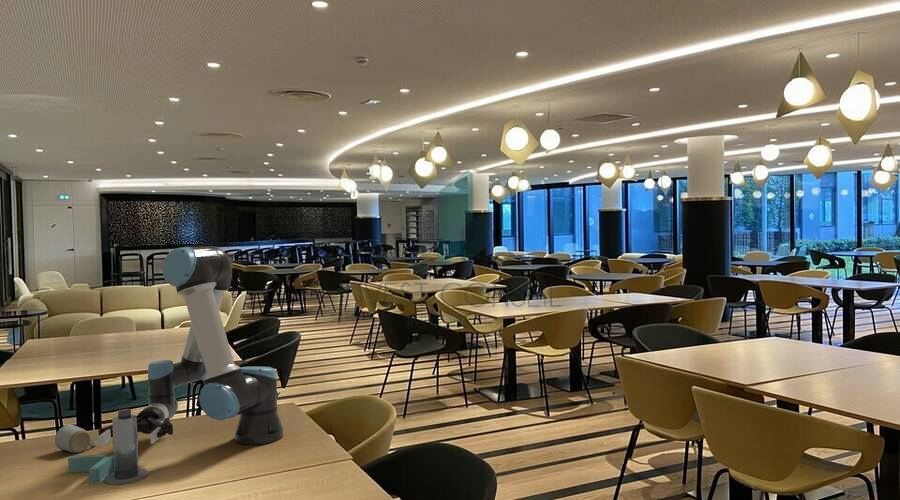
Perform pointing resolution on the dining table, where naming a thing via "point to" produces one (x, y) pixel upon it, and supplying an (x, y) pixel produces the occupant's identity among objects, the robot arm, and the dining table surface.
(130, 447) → the bottle
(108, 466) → the bent rail
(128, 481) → the coaster
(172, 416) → the robot arm
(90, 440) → the ceramic mug
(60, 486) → the dining table surface
